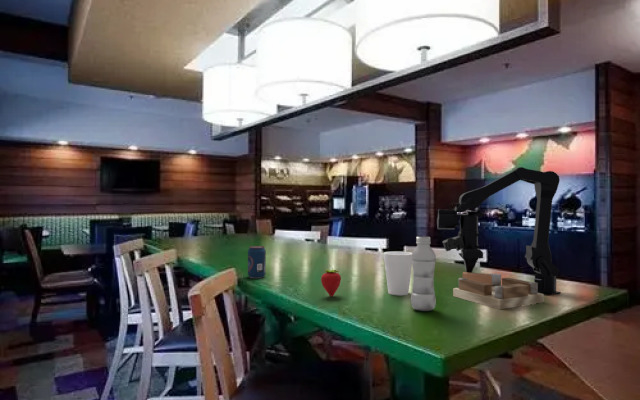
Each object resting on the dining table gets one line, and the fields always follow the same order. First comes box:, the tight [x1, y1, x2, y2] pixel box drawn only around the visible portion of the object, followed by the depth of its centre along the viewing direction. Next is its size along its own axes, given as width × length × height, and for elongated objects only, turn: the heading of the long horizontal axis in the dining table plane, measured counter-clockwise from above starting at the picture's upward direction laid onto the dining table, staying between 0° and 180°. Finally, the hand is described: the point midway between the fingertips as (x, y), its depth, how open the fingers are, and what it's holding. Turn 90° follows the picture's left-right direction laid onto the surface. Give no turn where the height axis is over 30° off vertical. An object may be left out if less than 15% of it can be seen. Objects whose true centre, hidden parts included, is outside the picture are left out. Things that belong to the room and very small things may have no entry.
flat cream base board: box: [452, 277, 545, 310], centre depth 128 cm, size 18×18×6 cm
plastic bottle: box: [410, 236, 437, 312], centre depth 115 cm, size 6×7×20 cm
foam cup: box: [383, 251, 413, 296], centre depth 137 cm, size 10×9×13 cm
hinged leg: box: [462, 271, 502, 285], centre depth 139 cm, size 12×4×3 cm, turn 67°
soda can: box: [247, 245, 267, 279], centre depth 166 cm, size 7×7×12 cm
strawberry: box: [320, 263, 342, 297], centre depth 132 cm, size 6×8×10 cm
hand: (468, 275), depth 143 cm, fingers closed
